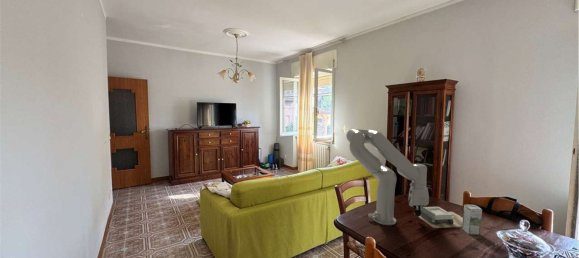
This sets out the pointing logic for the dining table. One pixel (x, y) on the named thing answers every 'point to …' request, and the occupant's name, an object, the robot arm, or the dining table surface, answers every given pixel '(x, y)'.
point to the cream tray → (457, 222)
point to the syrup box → (472, 219)
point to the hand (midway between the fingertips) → (417, 215)
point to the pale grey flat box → (437, 215)
